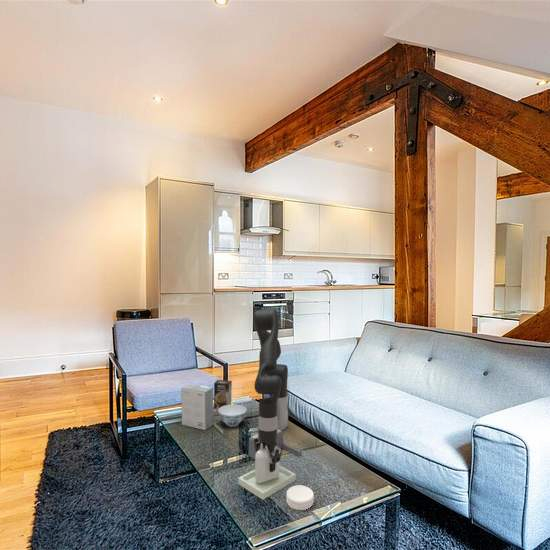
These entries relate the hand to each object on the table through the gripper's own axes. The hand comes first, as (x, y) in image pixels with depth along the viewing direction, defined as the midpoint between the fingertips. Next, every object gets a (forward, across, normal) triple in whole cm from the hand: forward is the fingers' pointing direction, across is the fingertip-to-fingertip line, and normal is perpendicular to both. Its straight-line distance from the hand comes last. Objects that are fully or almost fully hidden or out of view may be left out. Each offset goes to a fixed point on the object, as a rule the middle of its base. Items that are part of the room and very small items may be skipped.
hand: (267, 468), depth 150 cm
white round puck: (+6, -17, 0) cm, 18 cm away
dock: (+5, +12, -16) cm, 21 cm away
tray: (+5, 0, 0) cm, 5 cm away
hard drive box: (+6, +63, -10) cm, 64 cm away
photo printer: (+4, 0, 0) cm, 4 cm away
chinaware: (+6, +51, -24) cm, 57 cm away
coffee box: (+6, +71, -33) cm, 78 cm away
